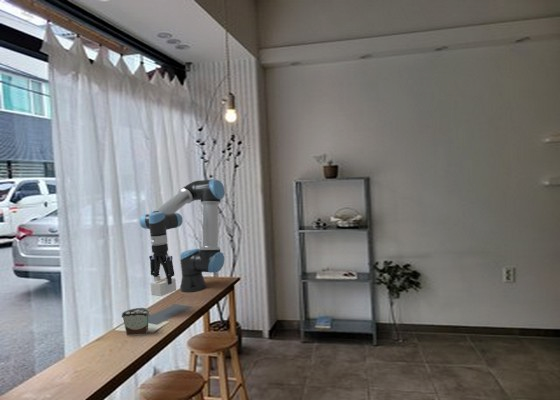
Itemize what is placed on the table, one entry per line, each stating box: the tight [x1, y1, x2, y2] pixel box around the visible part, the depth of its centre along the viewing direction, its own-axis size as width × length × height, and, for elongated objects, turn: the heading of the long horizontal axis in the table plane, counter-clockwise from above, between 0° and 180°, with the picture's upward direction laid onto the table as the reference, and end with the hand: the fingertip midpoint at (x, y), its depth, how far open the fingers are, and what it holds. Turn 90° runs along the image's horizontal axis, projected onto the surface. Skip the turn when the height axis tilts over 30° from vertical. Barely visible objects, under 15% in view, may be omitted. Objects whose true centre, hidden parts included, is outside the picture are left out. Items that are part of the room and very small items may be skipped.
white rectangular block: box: [150, 277, 177, 297], centre depth 192 cm, size 10×6×6 cm, turn 150°
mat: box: [148, 303, 193, 325], centre depth 193 cm, size 24×13×1 cm, turn 150°
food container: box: [121, 307, 151, 336], centre depth 173 cm, size 12×6×10 cm, turn 84°
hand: (164, 289), depth 192 cm, fingers closed on white rectangular block, 6 cm apart
